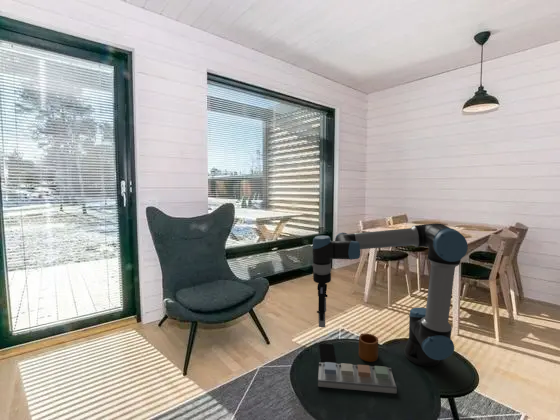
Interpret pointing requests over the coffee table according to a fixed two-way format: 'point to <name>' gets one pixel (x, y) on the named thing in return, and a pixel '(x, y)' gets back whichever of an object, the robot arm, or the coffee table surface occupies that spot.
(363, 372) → the key terracotta
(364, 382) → the keypad
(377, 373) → the key sage
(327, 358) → the smartphone
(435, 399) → the coffee table surface
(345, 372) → the key cream
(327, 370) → the key blue
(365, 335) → the mug
